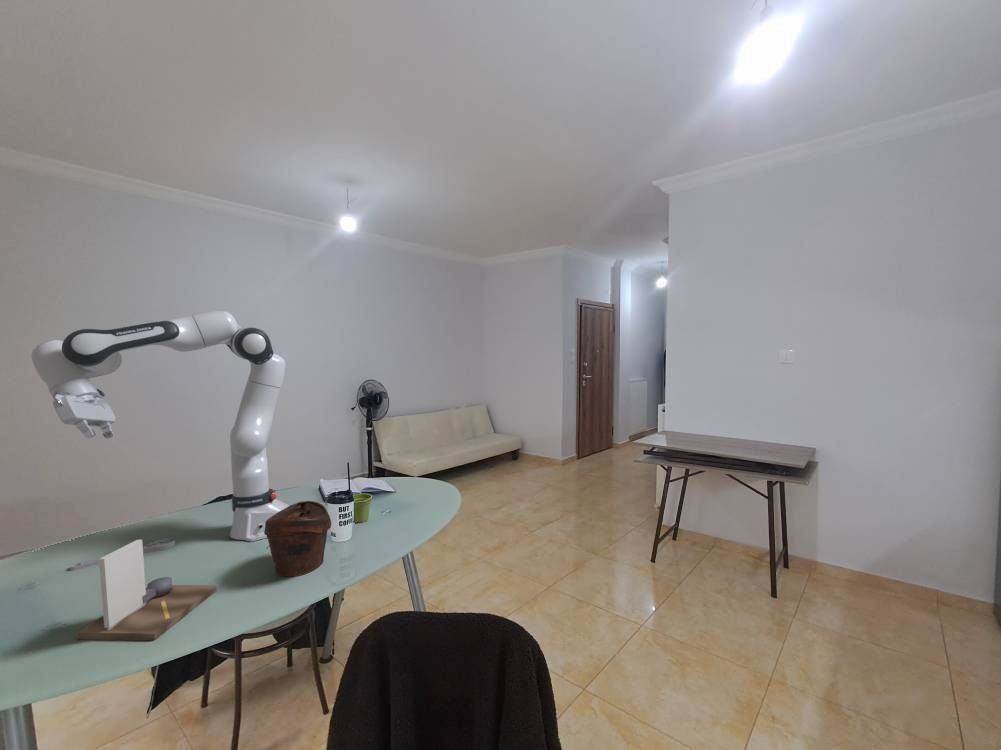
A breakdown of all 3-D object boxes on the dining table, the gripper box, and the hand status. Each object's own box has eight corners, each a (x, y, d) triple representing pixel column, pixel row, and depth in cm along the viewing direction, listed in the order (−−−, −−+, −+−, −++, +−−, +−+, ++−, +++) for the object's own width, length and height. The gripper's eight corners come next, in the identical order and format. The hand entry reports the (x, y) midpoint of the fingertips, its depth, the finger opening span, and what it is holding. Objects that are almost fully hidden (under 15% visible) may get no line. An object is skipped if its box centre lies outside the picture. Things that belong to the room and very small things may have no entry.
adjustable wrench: (69, 573, 131) (69, 567, 131) (72, 565, 136) (71, 559, 136) (174, 547, 146) (174, 542, 146) (173, 541, 152) (173, 536, 151)
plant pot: (358, 527, 160) (357, 503, 160) (341, 522, 165) (340, 499, 165) (378, 518, 168) (377, 495, 167) (361, 513, 173) (360, 491, 172)
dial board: (151, 590, 120) (151, 584, 120) (216, 590, 119) (216, 585, 119) (77, 638, 100) (77, 632, 100) (155, 640, 99) (154, 633, 99)
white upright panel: (158, 586, 118) (154, 527, 117) (177, 586, 118) (173, 527, 117) (96, 627, 101) (90, 558, 100) (117, 628, 100) (112, 559, 99)
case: (316, 544, 146) (313, 491, 145) (344, 565, 132) (341, 506, 130) (257, 564, 134) (252, 506, 132) (280, 590, 119) (276, 525, 118)
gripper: (64, 384, 117) (92, 430, 117) (107, 393, 137) (130, 432, 137) (37, 396, 115) (65, 442, 115) (84, 403, 135) (108, 443, 135)
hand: (101, 437), depth 126 cm, fingers open, 8 cm apart
